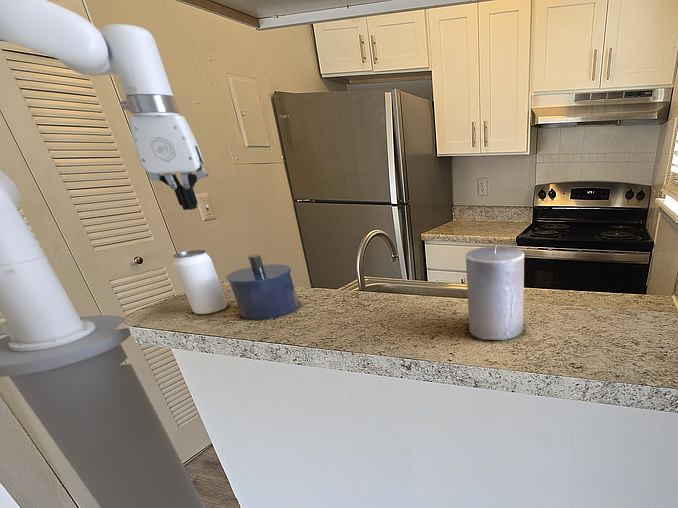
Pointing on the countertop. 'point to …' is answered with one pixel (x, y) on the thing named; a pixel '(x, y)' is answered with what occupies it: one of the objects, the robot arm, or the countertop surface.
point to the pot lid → (257, 272)
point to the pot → (265, 298)
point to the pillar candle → (495, 292)
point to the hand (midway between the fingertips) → (190, 208)
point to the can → (200, 281)
